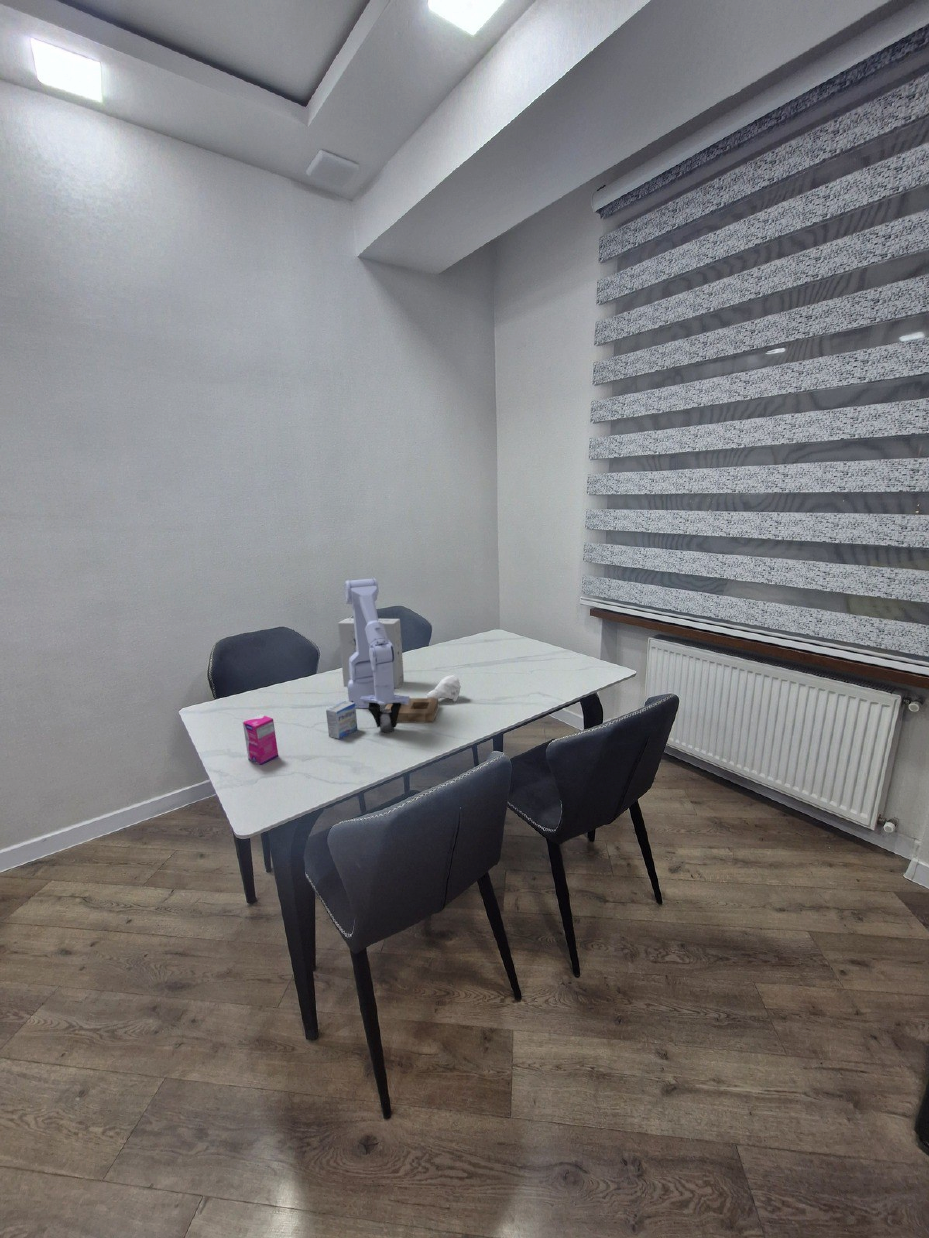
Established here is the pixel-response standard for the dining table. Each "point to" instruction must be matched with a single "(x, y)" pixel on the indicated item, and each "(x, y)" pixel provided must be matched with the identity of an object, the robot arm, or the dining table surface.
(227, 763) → the dining table surface
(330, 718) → the medicine box
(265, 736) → the supplement box
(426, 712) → the jig
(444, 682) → the white lumpy piece
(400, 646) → the cereal box
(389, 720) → the grey dome knob
